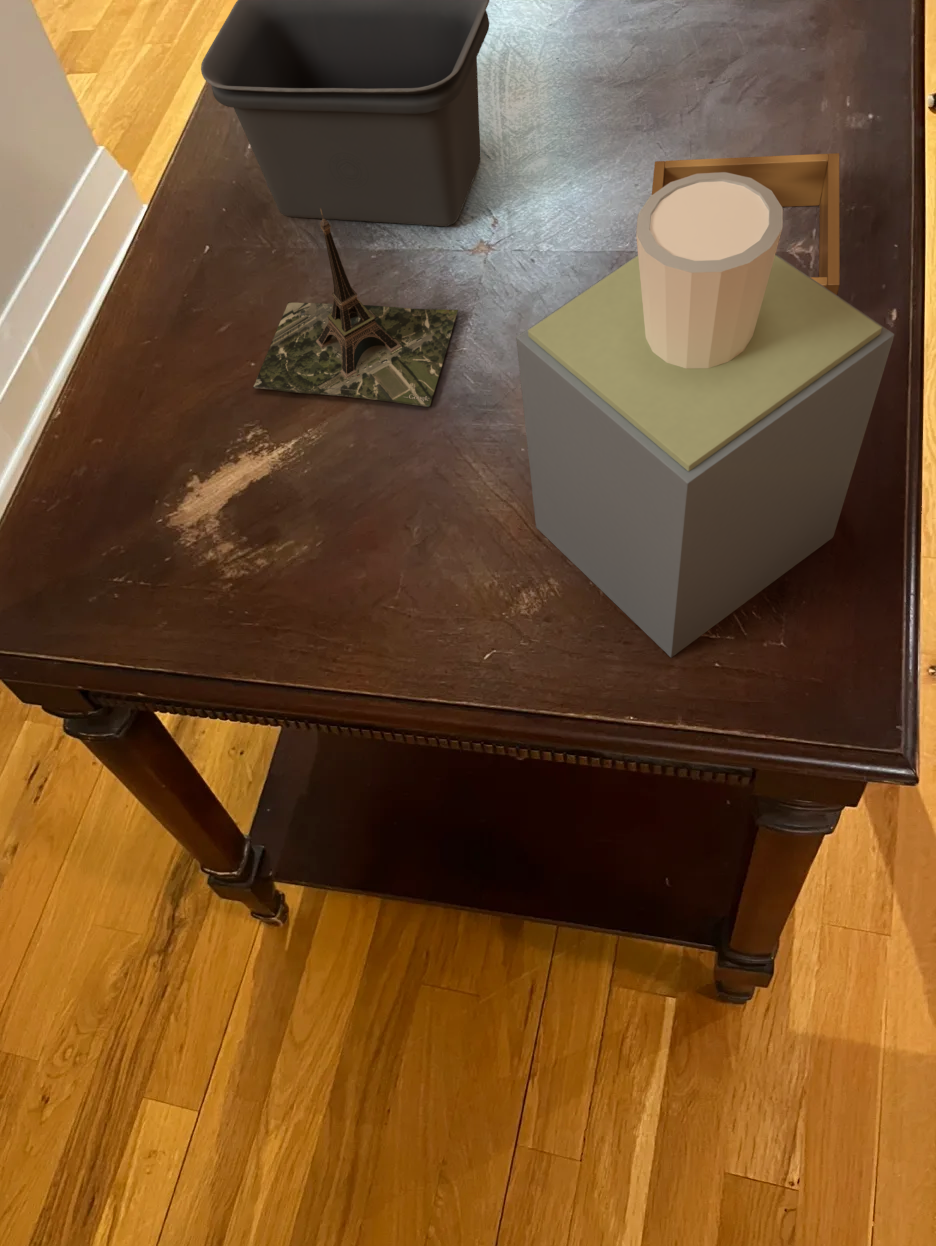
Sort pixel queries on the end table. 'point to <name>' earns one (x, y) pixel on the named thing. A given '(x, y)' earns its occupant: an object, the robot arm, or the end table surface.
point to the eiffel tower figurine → (357, 346)
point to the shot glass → (705, 265)
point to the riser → (691, 491)
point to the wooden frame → (782, 192)
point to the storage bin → (356, 103)
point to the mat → (702, 397)
